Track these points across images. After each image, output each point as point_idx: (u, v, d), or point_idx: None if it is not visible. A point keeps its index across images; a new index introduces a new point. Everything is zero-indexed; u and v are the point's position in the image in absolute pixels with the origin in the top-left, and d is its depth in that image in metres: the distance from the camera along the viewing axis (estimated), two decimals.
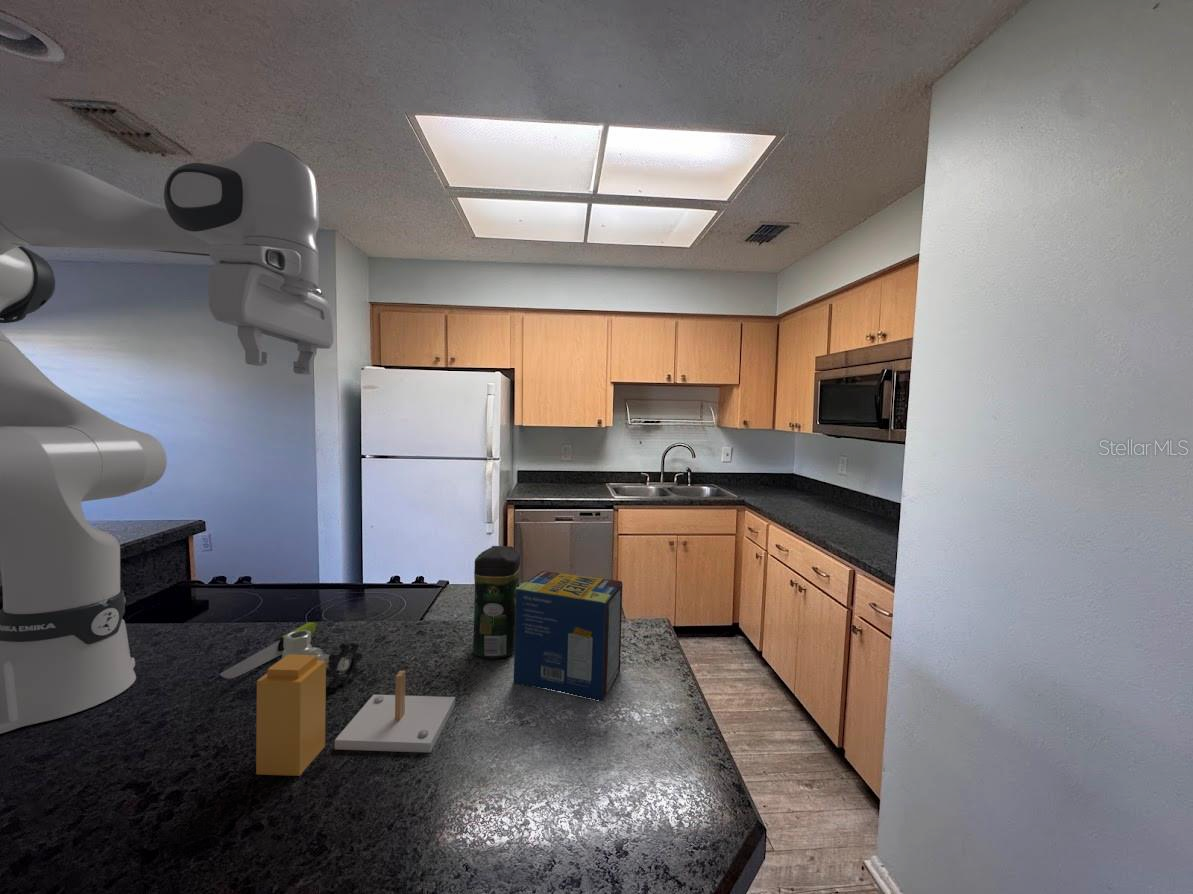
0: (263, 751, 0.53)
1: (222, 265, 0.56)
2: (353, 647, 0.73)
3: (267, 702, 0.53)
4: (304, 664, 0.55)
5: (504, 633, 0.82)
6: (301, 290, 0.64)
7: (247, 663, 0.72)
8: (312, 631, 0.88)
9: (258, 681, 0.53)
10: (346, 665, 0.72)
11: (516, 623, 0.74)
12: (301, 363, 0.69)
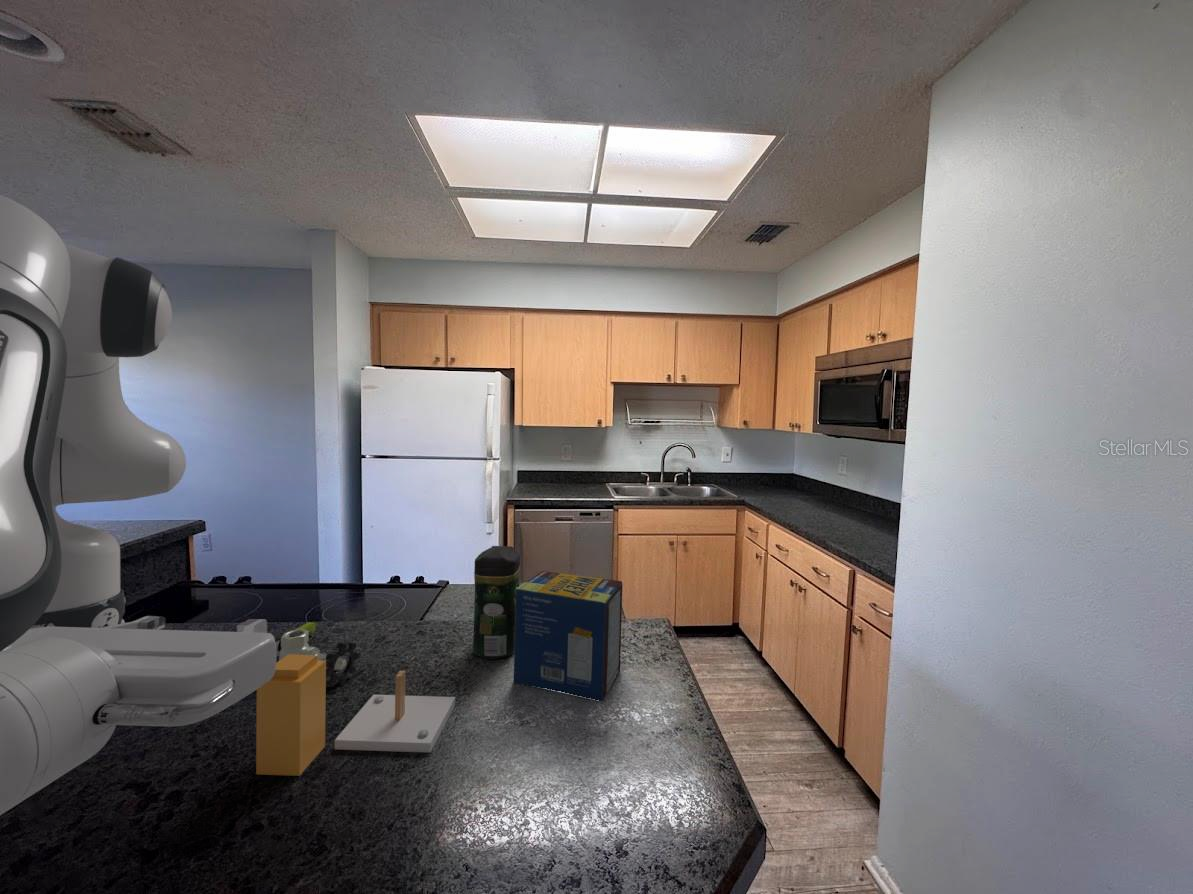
0: (263, 751, 0.53)
1: None
2: (350, 646, 0.74)
3: (267, 702, 0.53)
4: (304, 664, 0.55)
5: (504, 633, 0.82)
6: None
7: None
8: (312, 631, 0.88)
9: None
10: (343, 664, 0.72)
11: (516, 623, 0.74)
12: None
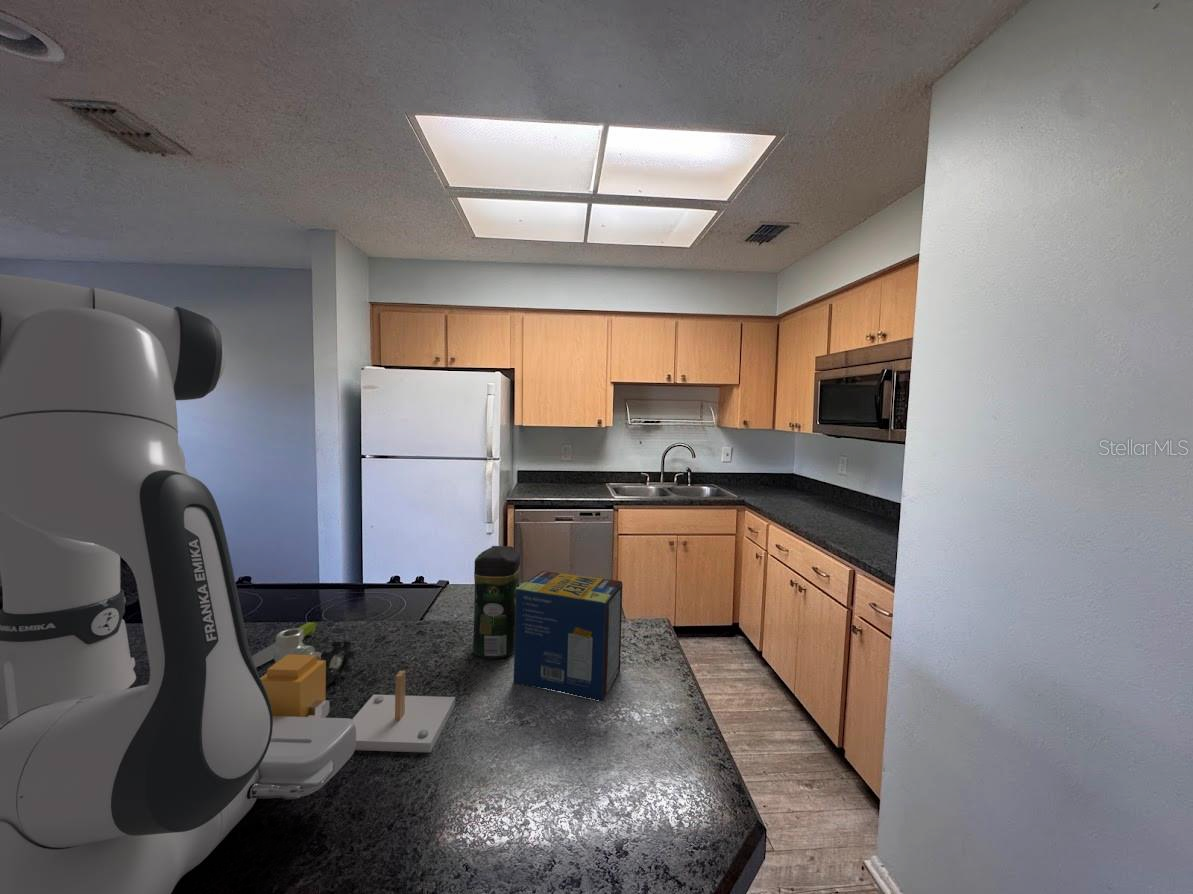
0: None
1: None
2: (345, 645, 0.74)
3: None
4: (304, 664, 0.55)
5: (504, 633, 0.82)
6: None
7: None
8: (312, 631, 0.88)
9: None
10: (338, 663, 0.73)
11: (516, 623, 0.74)
12: (310, 715, 0.55)
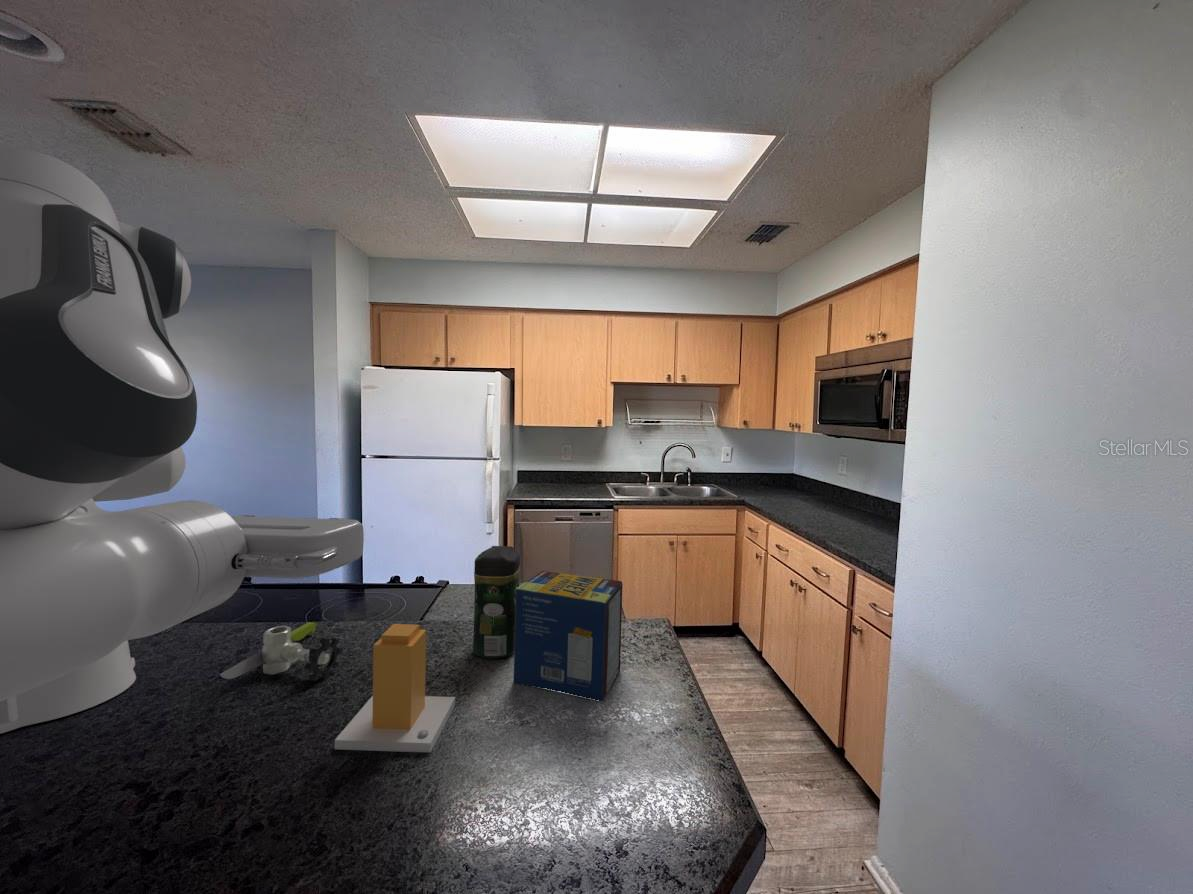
0: (378, 708, 0.60)
1: None
2: (333, 641, 0.75)
3: (382, 664, 0.60)
4: (412, 631, 0.62)
5: (504, 633, 0.82)
6: None
7: (247, 664, 0.72)
8: (312, 631, 0.88)
9: (374, 645, 0.60)
10: (326, 659, 0.74)
11: (516, 623, 0.74)
12: None
